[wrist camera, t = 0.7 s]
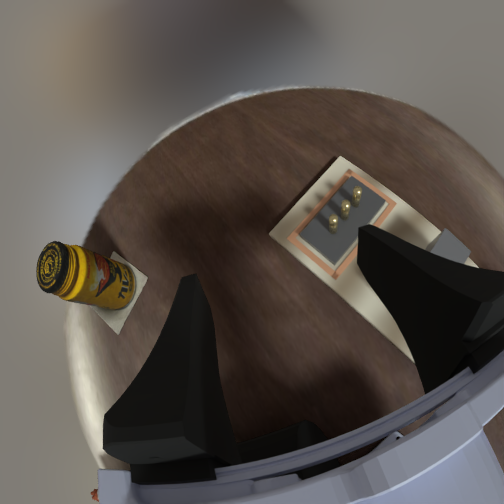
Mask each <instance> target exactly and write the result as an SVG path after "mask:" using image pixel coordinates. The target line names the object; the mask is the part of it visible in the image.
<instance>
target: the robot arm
mask: <svg viewBox="0 0 504 504" xmlns="http://www.w3.org/2000/svg"><path fill="white" fill-rule="evenodd" d="M357 264H358V266H359V268H360V270H361V272H362V274H363V275H364V277H365V279H366V281H367V282H368V284H369V285H370V286H371V288H372V289H373V290H374V292H375V293H376V295H377V296H378V297H379V299H380V300H381V302H382V303H383V304H384V306H385V307H386V308H387V310H388V311H389V313H390V314H391V316H392V317H393V319H394V320H395V322H396V324H397V326H398V328H399V329H400V331H401V333H402V335H403V337H404V339H405V341H406V344H407V346H408V348H409V350H410V352H411V355H412V357H413V360H414V362H415V365H416V367H417V370H418V373H419V376H420V379H421V382H422V385H423V388H424V392H425V395H424V396H422V397H420V398H419V399H417V400H415V401H413V402H412V403H410V404H408V405H406V406H404V407H402V408H400V409H398V410H397V411H395V412H393V413H391V414H389V415H387V416H384V417H382V418H380V419H378V420H376V421H374V422H372V423H369V424H367V425H365V426H363V427H360V428H358V429H356V430H353V431H351V432H348V433H346V434H343V435H341V436H338V437H335V438H333V439H330V440H327V441H324V442H322V443H319V444H316V445H313V446H310V447H306V448H303V449H300V450H297V451H293V452H290V453H286V454H283V455H279V456H275V457H271V458H267V459H263V460H259V461H254V462H249V463H245V464H242V463H243V462H242V460H241V457H240V453H239V450H238V447H237V444H236V441H235V437H234V434H233V430H232V427H231V423H230V420H229V416H228V412H227V408H226V404H225V400H224V396H223V391H222V387H221V382H220V376H219V369H218V359H217V349H216V338H215V328H214V323H213V318H212V313H211V308H210V305H209V303H208V301H207V298H206V296H205V294H204V291H203V289H202V287H201V284H200V282H199V279H198V277H197V275H196V274H193V275H189V276H185V277H182V279H181V280H180V283H179V287H178V290H177V293H176V296H175V299H174V301H173V304H172V307H171V309H170V312H169V315H168V317H167V320H166V322H165V324H164V327H163V329H162V331H161V334H160V336H159V338H158V340H157V342H156V344H155V346H154V348H153V350H152V351H151V353H150V355H149V357H148V358H147V360H146V362H145V363H144V365H143V367H142V368H141V370H140V372H139V373H138V375H137V376H136V377H135V379H134V380H133V381H132V383H131V384H130V386H129V387H128V388H127V390H126V391H125V392H124V393H123V395H122V396H121V397H120V398H119V399H118V400H117V401H116V403H115V404H114V405H113V406H112V407H111V408H110V409H109V410H108V411H107V413H106V414H105V415H104V422H103V449H104V450H105V452H106V453H107V454H109V455H111V456H113V457H115V458H117V459H119V460H122V461H124V462H126V463H129V464H130V468H131V471H128V470H115V469H99V470H98V491H99V504H504V473H503V471H502V469H501V467H500V464H499V462H498V460H497V458H496V456H495V454H494V451H493V449H492V447H491V445H490V443H489V441H488V439H487V437H486V435H485V433H484V431H483V426H484V425H485V424H486V423H487V422H488V421H490V420H491V419H492V418H493V417H494V416H495V415H496V414H497V413H498V412H499V411H500V410H501V409H502V408H503V407H504V272H501V271H493V270H487V269H482V268H477V267H473V266H469V265H465V264H462V263H459V262H455V261H452V260H449V259H447V258H444V257H441V256H438V255H436V254H433V253H431V252H429V251H426V250H424V249H422V248H420V247H417V246H415V245H413V244H411V243H409V242H407V241H405V240H403V239H401V238H399V237H397V236H395V235H393V234H391V233H389V232H387V231H385V230H383V229H380V228H378V227H376V226H374V225H371V224H368V225H364V226H361V227H358V248H357ZM448 400H449V401H448ZM447 401H448V402H447ZM445 402H446V403H445ZM444 403H445V404H444ZM442 404H444V405H443V406H441V405H442ZM439 406H441V407H440V408H438V407H439ZM436 408H438V409H437V410H436V411H435V412H434V414H433V415H432V416H431V417H430V418H429V419H428V420H427V421H426V422H424V423H423V424H422V425H421V426H420V427H419V428H418V429H417V430H415V431H413V432H411V433H409V434H407V435H406V436H403V435H402V434H400V433H399V432H398V430H400V429H402V428H403V427H405V426H407V425H409V424H411V423H413V422H414V421H416V420H418V419H420V418H421V417H423V416H425V415H426V414H428V413H430V412H431V411H433V410H435V409H436ZM388 435H389V436H388ZM386 436H388V437H387V438H385V439H384V440H383V441H382V442H381V443H380V444H379V445H378V446H377V447H376V448H375V449H373V450H372V451H371V452H370V453H369V454H368V455H366V456H363V457H361V458H359V459H357V460H355V461H352V462H350V463H348V464H345V465H343V466H340V467H338V468H335V469H333V470H330V471H328V472H325V473H322V474H320V475H317V476H314V477H311V478H308V479H305V480H301V479H300V478H298V475H297V474H290V475H285V476H280V477H275V476H279V475H283V474H287V473H291V472H294V471H298V470H301V469H304V468H308V467H311V466H314V465H317V464H320V463H323V462H326V461H329V460H331V459H334V458H337V457H340V456H342V455H345V454H347V453H350V452H352V451H355V450H357V449H359V448H362V447H364V446H366V445H369V444H371V443H373V442H375V441H377V440H380V439H382V438H384V437H386ZM398 436H399V437H400V438H399V439H398V440H396V438H397V437H398ZM271 477H274V478H271ZM267 478H268V479H267ZM262 479H263V480H262Z"/></svg>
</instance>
